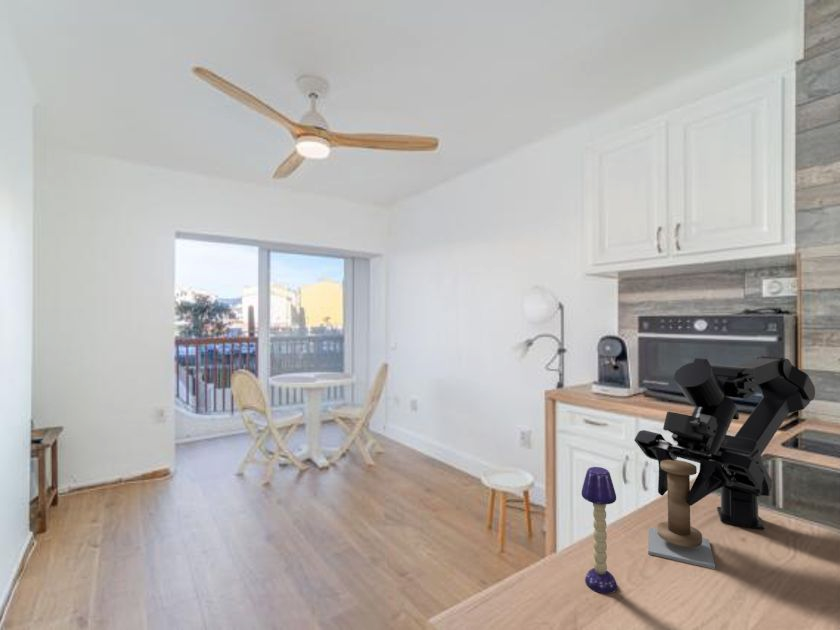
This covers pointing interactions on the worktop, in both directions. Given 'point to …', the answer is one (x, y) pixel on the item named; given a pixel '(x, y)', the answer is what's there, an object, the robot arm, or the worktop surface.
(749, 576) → the worktop surface
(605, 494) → the toy lamp
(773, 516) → the worktop surface
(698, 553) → the grey mat
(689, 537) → the walnut stool
